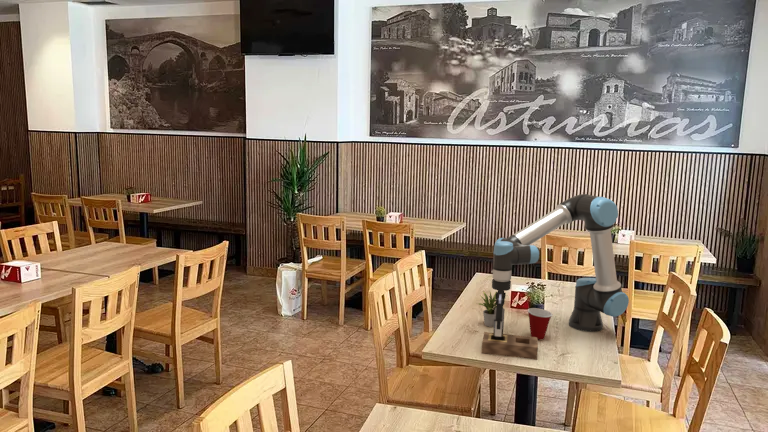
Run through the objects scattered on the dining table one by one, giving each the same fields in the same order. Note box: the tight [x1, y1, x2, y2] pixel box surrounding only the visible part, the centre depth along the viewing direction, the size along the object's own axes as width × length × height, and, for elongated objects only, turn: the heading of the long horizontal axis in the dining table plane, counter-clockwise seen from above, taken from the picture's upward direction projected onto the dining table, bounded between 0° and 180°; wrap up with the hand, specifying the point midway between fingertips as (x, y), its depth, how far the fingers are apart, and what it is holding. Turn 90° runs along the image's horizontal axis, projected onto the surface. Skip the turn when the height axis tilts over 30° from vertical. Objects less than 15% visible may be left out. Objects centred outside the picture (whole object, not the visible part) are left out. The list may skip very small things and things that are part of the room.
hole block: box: [481, 331, 539, 360], centre depth 249 cm, size 22×12×5 cm, turn 77°
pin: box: [492, 307, 505, 341], centre depth 248 cm, size 4×4×13 cm
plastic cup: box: [527, 307, 553, 341], centre depth 265 cm, size 11×11×12 cm
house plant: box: [477, 291, 508, 328], centre depth 278 cm, size 14×14×16 cm
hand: (498, 334), depth 249 cm, fingers closed on pin, 4 cm apart
